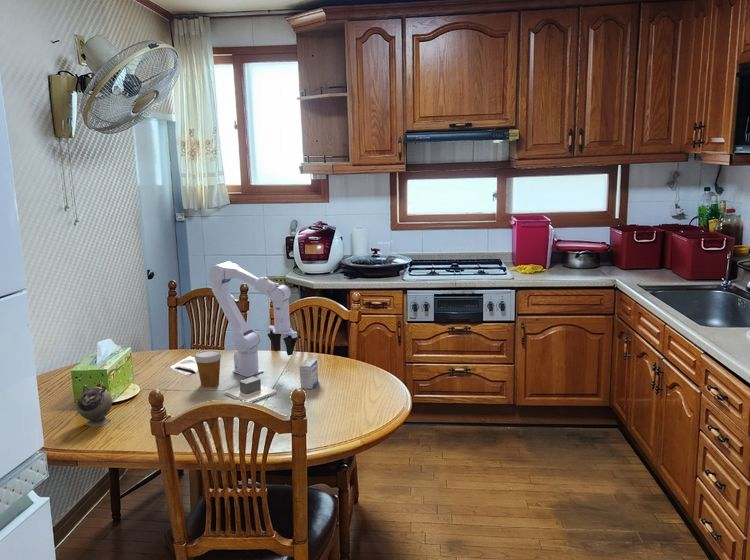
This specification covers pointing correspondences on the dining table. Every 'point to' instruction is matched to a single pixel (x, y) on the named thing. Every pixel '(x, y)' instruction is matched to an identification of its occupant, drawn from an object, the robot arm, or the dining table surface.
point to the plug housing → (250, 385)
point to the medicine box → (309, 374)
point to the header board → (252, 396)
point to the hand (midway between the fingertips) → (283, 352)
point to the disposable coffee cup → (208, 367)
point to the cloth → (186, 366)
